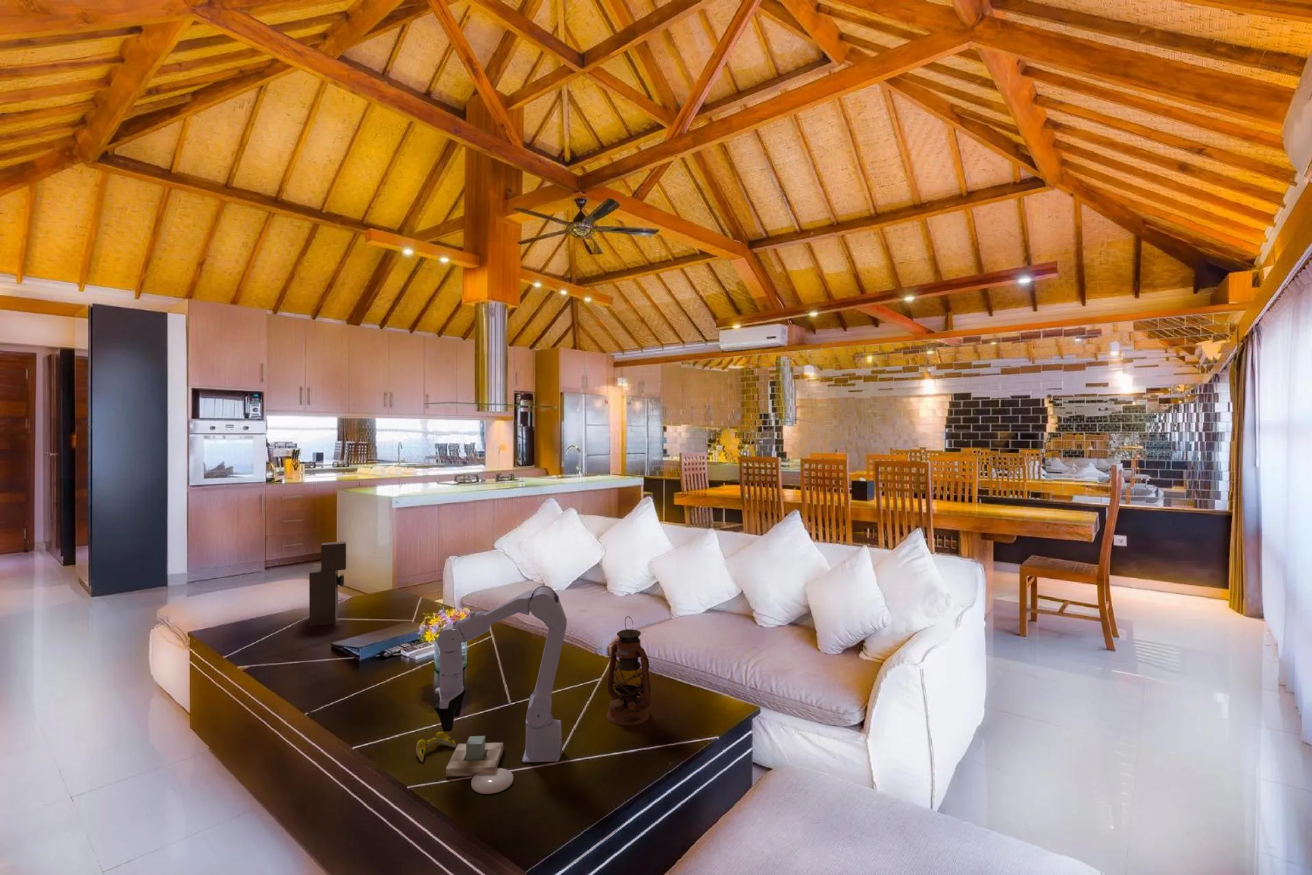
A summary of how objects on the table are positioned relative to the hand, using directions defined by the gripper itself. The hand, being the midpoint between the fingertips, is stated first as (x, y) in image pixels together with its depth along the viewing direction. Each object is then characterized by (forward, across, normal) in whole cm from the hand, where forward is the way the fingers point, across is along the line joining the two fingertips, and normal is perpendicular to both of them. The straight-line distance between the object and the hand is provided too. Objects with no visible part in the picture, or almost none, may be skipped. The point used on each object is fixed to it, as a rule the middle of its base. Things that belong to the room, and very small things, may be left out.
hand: (451, 723), depth 161 cm
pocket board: (+10, +2, +6) cm, 12 cm away
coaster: (+10, +11, +13) cm, 19 cm away
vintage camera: (+9, -123, -88) cm, 151 cm away
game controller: (+10, -5, -6) cm, 13 cm away
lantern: (+10, -22, +46) cm, 53 cm away
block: (+10, +2, +6) cm, 12 cm away
